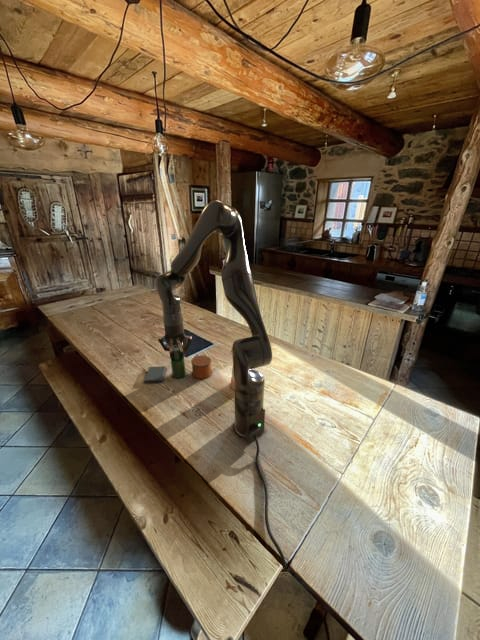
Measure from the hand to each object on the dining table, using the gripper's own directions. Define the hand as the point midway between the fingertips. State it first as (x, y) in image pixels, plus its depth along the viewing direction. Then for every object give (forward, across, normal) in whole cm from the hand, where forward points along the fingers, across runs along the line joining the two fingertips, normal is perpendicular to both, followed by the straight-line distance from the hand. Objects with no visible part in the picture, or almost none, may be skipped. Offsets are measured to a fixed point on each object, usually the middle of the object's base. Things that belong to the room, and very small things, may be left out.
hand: (177, 358), depth 112 cm
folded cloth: (+8, -10, 0) cm, 13 cm away
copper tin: (+8, +10, 0) cm, 13 cm away
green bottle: (+8, 0, 0) cm, 8 cm away
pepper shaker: (+8, +26, -9) cm, 29 cm away
